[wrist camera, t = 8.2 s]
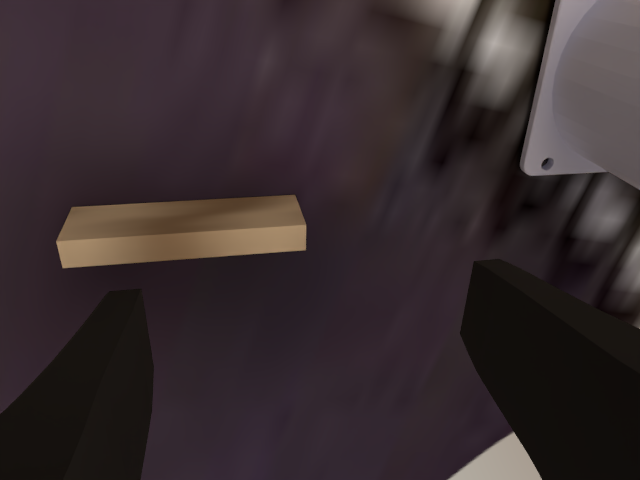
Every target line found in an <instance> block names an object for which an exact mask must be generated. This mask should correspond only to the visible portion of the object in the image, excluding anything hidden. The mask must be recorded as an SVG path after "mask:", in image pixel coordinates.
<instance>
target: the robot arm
mask: <svg viewBox="0 0 640 480" xmlns="http://www.w3.org/2000/svg"><path fill="white" fill-rule="evenodd" d="M546 158H548V162H547V163H546V164H545V165H544V166H541V164H542V162H543V161H544V160H545V159H546ZM520 168H521V170H522V171H523V172H525V173H526V174H528V175H530V176H540V175H558V174H577V173H596V172H610V173H612V174H613V175H615V176H617V177H618V178H620V179H622V180H624V181H625V182H627V183H629V184H630V185H632V186H634V187H636V188H637V189H639V190H640V0H555V4H554V9H553V14H552V18H551V23H550V27H549V32H548V36H547V41H546V46H545V50H544V55H543V59H542V64H541V68H540V73H539V78H538V82H537V87H536V91H535V96H534V100H533V105H532V109H531V114H530V119H529V123H528V128H527V132H526V137H525V141H524V146H523V151H522V155H521V160H520ZM460 334H461V337H462V339H463V342H464V344H465V346H466V349H467V351H468V354H469V356H470V358H471V360H472V362H473V365H474V367H475V369H476V371H477V373H478V374H479V376H480V378H481V379H482V381H483V383H484V384H485V386H486V388H487V389H488V391H489V393H490V394H491V396H492V397H493V399H494V401H495V402H496V404H497V405H498V407H499V409H500V410H501V412H502V413H503V415H504V417H505V418H506V420H507V421H508V423H509V425H510V426H511V428H512V429H513V431H514V432H515V434H516V436H517V437H518V439H519V440H520V442H521V443H522V445H523V447H524V448H525V450H526V451H527V453H528V455H529V456H530V458H531V460H532V462H533V464H534V465H535V467H536V469H537V471H538V472H539V474H540V476H541V478H542V480H640V329H639V328H636V327H634V326H632V325H630V324H628V323H626V322H623V321H621V320H619V319H617V318H615V317H613V316H611V315H609V314H606V313H604V312H602V311H600V310H598V309H596V308H594V307H592V306H590V305H588V304H587V303H585V302H583V301H581V300H579V299H577V298H575V297H573V296H571V295H569V294H567V293H565V292H564V291H562V290H560V289H558V288H556V287H554V286H552V285H550V284H548V283H547V282H545V281H543V280H541V279H539V278H537V277H535V276H533V275H532V274H530V273H528V272H526V271H524V270H522V269H520V268H518V267H516V266H514V265H512V264H509V263H507V262H505V261H502V260H500V259H495V260H483V261H474V264H473V269H472V274H471V279H470V284H469V289H468V295H467V300H466V305H465V310H464V315H463V320H462V326H461V331H460ZM153 372H154V365H153V359H152V353H151V346H150V340H149V334H148V328H147V322H146V315H145V309H144V303H143V297H142V290H141V289H133V290H120V291H110V292H109V293H108V294H107V295H106V296H105V297H104V298H103V299H102V301H101V302H100V303H99V304H98V306H97V307H96V308H95V310H94V311H93V312H92V314H91V315H90V316H89V317H88V319H87V320H86V321H85V322H84V324H83V325H82V326H81V327H80V329H79V330H78V331H77V332H76V334H75V335H74V336H73V337H72V339H71V340H70V341H69V342H68V343H67V344H66V346H65V347H64V348H63V349H62V350H61V351H60V353H59V354H58V355H57V356H56V357H55V359H54V360H53V361H52V362H51V363H50V364H49V365H48V366H47V367H46V369H45V370H44V371H43V372H42V373H41V374H40V375H39V376H38V377H37V378H36V379H35V380H34V381H33V382H32V383H31V384H30V385H29V386H28V388H27V389H26V390H25V391H24V392H23V393H22V394H21V395H20V396H19V397H18V398H17V399H16V400H15V401H14V402H13V403H12V404H11V405H10V406H9V407H8V408H7V409H5V410H4V411H3V412H2V413H1V414H0V480H140V479H141V473H142V467H143V461H144V455H145V450H146V444H147V438H148V432H149V425H150V419H151V413H152V398H153Z"/></svg>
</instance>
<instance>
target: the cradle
mask: <svg viewBox="0 0 640 480" xmlns="http://www.w3.org/2000/svg"><path fill="white" fill-rule="evenodd" d="M56 243H57V247H58V251H59V255H60V259H61V263H62V267H63V268H73V267H86V266H99V265H113V264H126V263H140V262H153V261H167V260H180V259H194V258H207V257H220V256H234V255H247V254H261V253H274V252H288V251H301V250H306V223H305V220H304V217H303V215H302V212H301V209H300V207H299V204H298V201H297V198H296V196H295V195H281V196H263V197H245V198H227V199H209V200H191V201H173V202H155V203H138V204H120V205H102V206H84V207H72V208H71V210H70V213H69V215H68V217H67V219H66V221H65V223H64V226H63V228H62V230H61V232H60V234H59V236H58V239H57V241H56Z"/></svg>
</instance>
